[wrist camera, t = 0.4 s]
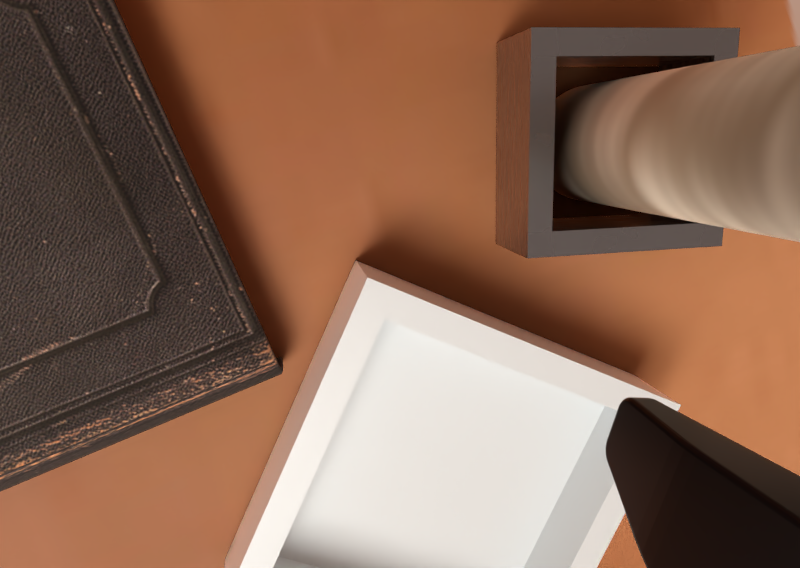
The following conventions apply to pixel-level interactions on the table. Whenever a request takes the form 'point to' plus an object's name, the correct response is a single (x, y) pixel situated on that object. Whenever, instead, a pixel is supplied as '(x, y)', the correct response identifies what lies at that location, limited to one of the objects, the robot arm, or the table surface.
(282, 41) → the table surface
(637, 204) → the dowel
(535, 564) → the tray
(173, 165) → the hardcover book
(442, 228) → the table surface
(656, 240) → the collar
